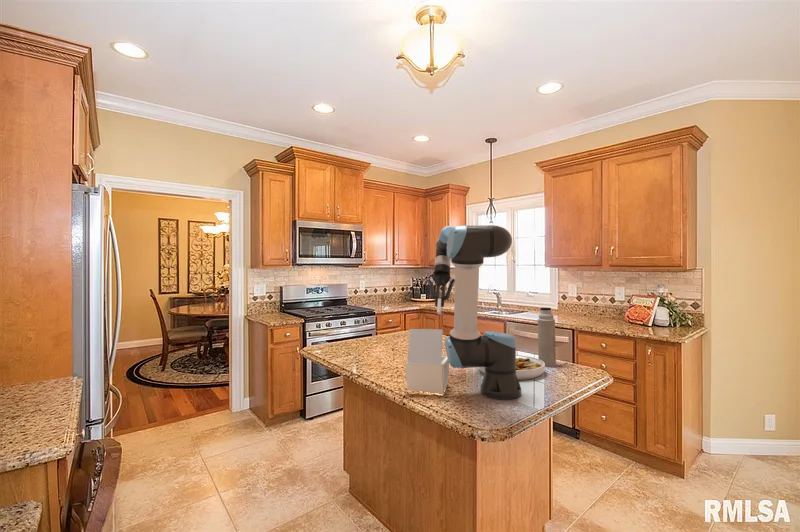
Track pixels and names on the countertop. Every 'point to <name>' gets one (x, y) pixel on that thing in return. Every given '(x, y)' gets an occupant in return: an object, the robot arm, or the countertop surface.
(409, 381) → the white carton
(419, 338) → the carton flap
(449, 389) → the countertop surface
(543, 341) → the thermos bottle
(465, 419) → the countertop surface
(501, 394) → the robot arm
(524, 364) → the bowl
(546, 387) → the countertop surface
